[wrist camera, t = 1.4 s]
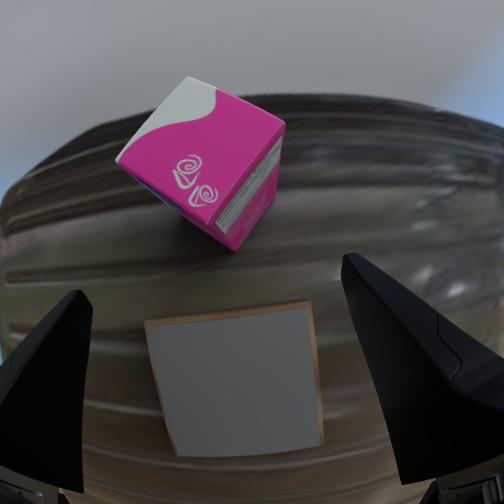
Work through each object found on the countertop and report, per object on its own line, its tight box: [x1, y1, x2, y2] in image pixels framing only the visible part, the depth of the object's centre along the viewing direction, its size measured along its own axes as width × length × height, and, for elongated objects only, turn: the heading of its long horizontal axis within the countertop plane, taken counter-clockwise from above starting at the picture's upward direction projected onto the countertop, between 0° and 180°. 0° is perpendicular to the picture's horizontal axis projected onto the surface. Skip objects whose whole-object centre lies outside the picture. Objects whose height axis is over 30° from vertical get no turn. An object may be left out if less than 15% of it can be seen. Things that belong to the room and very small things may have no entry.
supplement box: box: [115, 76, 285, 252], centre depth 16 cm, size 6×6×12 cm
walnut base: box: [144, 299, 324, 458], centre depth 19 cm, size 12×12×3 cm
